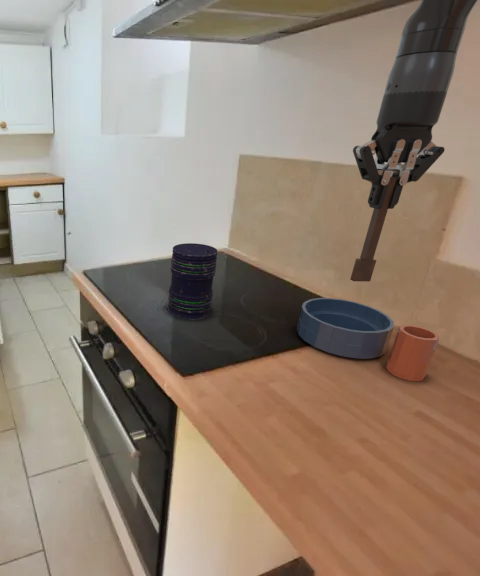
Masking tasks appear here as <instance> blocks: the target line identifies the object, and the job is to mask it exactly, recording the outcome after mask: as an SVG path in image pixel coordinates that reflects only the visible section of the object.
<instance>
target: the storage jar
mask: <svg viewBox="0 0 480 576" xmlns="http://www.w3.org/2000/svg"><path fill="white" fill-rule="evenodd" d="M218 252H219V251H218V249H217V247H214V246H212V245H208V244H204V243H191V242H189V243H188V242H185V243H179V244H176V245H174V246H173V247H172V254H171V262H170V264H171V266H170V272H171V279H170V280H171V282H170V286H169V287H168V297H167V298H168V299H167V300H168V307H167V308H168V309H167V310H168V312H169V313H170V315H173V316H174V317H176V318H179V319H183V320H191V321H192V320H193V321H194V320H195V321H197V320H202V319H203V320H204V319H205V318H207V317H209V316H210V314H211V307H212V304H213V296H214V291H213V283H214V277H215V275H216V271H217V270H216V269H217V264H218V262H217V259H218V257H217V256H218Z"/></svg>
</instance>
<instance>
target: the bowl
mask: <svg viewBox="0 0 480 576" xmlns="http://www.w3.org/2000/svg"><path fill="white" fill-rule="evenodd" d="M394 328H395V321H394V320H393V319H392V318H391V317H390V316H389V315H387V314H386V313H385V312H383V311H382V310H379V309H377V308H374V307H372V306H369V305H367V304H364V303H360V302H357V301H354V300H353V301H352V300H348V299H343V298H333V297H316V298H311V299H308V300H305V301H304V302H303V303H302V304H301V307H300V313H299V317H298V321H297V325H296V332H297V334H298V336H299V337H300V338H301V339H302V341H304V342H306V343H307V344H309V345H311V346H312V347H314V348H316V349H319V350H321V351H323V352H325V353H328V354H332V355H336V356H340V357H344V358H351V359H357V360H360V359H365V360H366V359H367V360H368V359H375V358H379V357H382V356H383V355H384V354H385V353H386V352H387V349H388V346H389V343H390V340H391V337H392V335H393V331H394Z"/></svg>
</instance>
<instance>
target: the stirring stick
mask: <svg viewBox="0 0 480 576" xmlns="http://www.w3.org/2000/svg"><path fill="white" fill-rule="evenodd" d="M396 180H397V177H392V176H391V177H390V180H389V183H388V184H387V185H386V186H388V189H387V193H386V196H385V200H384V203H383V206H382V208H381V209H375V208H373V210H372V214H371V217H370V221H369V225H368V228H367V232H366V234H365V239H364V242H363V245H362V249H361V252H360V256H359V258H355V261H354V264H353V268H352V272H351V275H350V280H351V281H352V282H371V280H372V277H373V273H374V270H375V267H376V263H377V259H375V258H374V257H375V254H376V251H377V248H378V244H379V242H380V238H381V234H382V231H383V227H384V224H385V220H386V218H387V213H388V210H389V209H388V207H389V203H390V200H391V197H392V193H393V190H394V187H395V184H396Z"/></svg>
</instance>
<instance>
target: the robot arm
mask: <svg viewBox="0 0 480 576" xmlns="http://www.w3.org/2000/svg"><path fill="white" fill-rule="evenodd" d="M478 1H479V0H421V1H420V3H419V5H418V7H417V8H416V9H415V10H414V11H413V12H412V13H411V14H410V15H409V16H408V17H407V20H406V21H405V24H404V26H403V29H402V31H401V35H400V39H399V43H398V47H397V51H396V54H395V59H394V62H393V65H392V67H391V70H390V72H389V74H388V77H387V81H386V85H385V89H384V93H383V96H382V100H381V104H380V108H379V111H378V115H377V119H376V130H375V132H374V133H373V134H372V136H371V138H370V139H371V140H369V141H367V142H365V143H363V144H362V145H355V146H354V147H353V149H352V153H353V156H354V159H355V162H356V165H357V168H358V171H359V174H360V177H361V179H362V180H364V181H367V182H369V183H371V188H370V191H369V195H368V198H367V204H368V206H369V207H370V208H372V209H374V208H375V209H381V208H382V206H383V203H384V200H385V196H386V193H387V189H388V186H386V185H387V184H388V183H389V180H390V177H391V176H392V177H397V180H396V184H395V187H394V190H393V193H392V197H391V200H390V203H389V207H388V210H394V208H395V206H397V204H398V203H399V201H400V198H401V194H402V191H403V188H404V186H406V185H407V184H408V183H412V182H414V183H415V182H418V181H419V180H420V179H421V178H422V176H423V175H425V173H426V172H427V171H428V170H429V169H430V168H431V167H432V166H433V165H434V164H435V162H436V161H437V160H438V159H439V158H440V157H441V156H442V155H443V154H444V152H445V147H444V146H438V145H436V143H434V142H433V141H432V140H433V128H434V126H435V125H436V124H438V122H439V120H440V116H441V113H442V111H443V107H444V103H445V101H446V97H447V94H448V91H449V88H450V85H451V82H452V78H453V77H454V76H453V75H454V72H455V67H456V61H457V57H458V53H459V50H460V47H461V43H462V40H463V37H464V35H465V30H466V27H467V23H468V20H469V17H470V15H471V13H472V11H473V9H474V7H475V6H476V4H477V3H478ZM374 155H376V156H375V158H374Z"/></svg>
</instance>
